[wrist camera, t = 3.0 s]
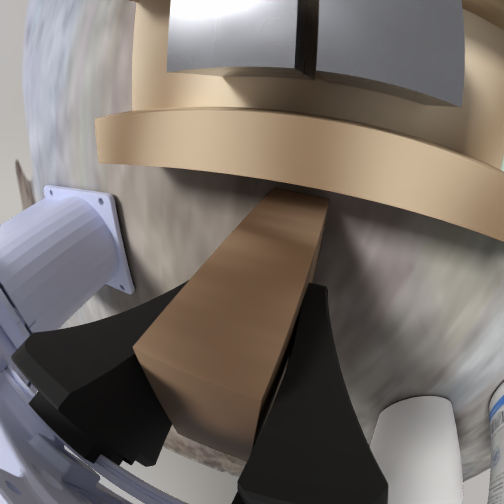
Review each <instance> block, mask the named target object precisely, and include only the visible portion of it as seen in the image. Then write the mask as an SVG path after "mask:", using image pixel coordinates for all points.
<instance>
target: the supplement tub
mask: <svg viewBox="0 0 504 504" xmlns="http://www.w3.org/2000/svg"><path fill="white" fill-rule="evenodd" d="M489 416H490V433H491V471H490V472H491V474H490V486H489V496H488V504H504V382H503V383H502V384H501V385H500V386H499V388H498V389H497V390H496V392H495V393H494V395H493V397H492V399H491V401H490V405H489Z"/></svg>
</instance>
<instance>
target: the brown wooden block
mask: <svg viewBox="0 0 504 504" xmlns="http://www.w3.org/2000/svg"><path fill="white" fill-rule="evenodd" d="M329 200H330V199H325V198H320V197H316V196H311V195H306V194H300V193H295V192H290V191H284V190H279V189H273V188H272V189H271V191H270V192H269V193H268V194H267V195H266V196H265V197H264V198H263V199H262V200H261V201H260V202H259V203H258V205H257V206H256V207H255V208H254V209H253V210H252V211H251V212H250V213H249V214H248V215H247V216H246V218H245V219H244V220H243V221H242V222H241V223H240V224H239V225H238V226H237V227H236V229H235V230H234V231H233V232H232V233H231V234H230V235H229V236H228V237H227V238H226V240H225V241H224V242H223V243H222V244H221V245H220V246H219V247H218V249H217V250H216V251H215V252H214V253H213V254H212V255H211V256H210V257H209V259H208V260H207V261H206V262H205V263H204V264H203V265H202V267H201V268H200V269H199V270H198V271H197V272H196V273H195V274H194V276H193V277H192V278H191V279H190V280H189V281H188V282H187V284H186V285H185V286H184V287H183V288H182V289H181V291H180V292H179V293H178V294H177V295H176V296H175V297H174V299H173V300H172V301H171V302H170V303H169V304H168V306H167V307H166V308H165V309H164V310H163V312H162V313H161V314H160V315H159V316H158V317H157V319H156V320H155V321H154V322H153V323H152V324H151V326H150V327H149V328H148V329H147V330H146V332H145V333H144V334H143V335H142V336H141V338H140V339H139V340H138V341H137V342H136V344H135V345H134V346H133V349H134V352H135V354H136V356H137V358H138V360H139V363H140V365H141V367H142V369H143V371H144V373H145V375H146V377H147V379H148V381H149V383H150V385H151V387H152V389H153V391H154V393H155V395H156V396H157V398H158V400H159V402H160V404H161V406H162V407H163V409H164V411H165V413H166V414H167V416H168V418H169V419H170V421H171V423H172V424H173V426H174V428H175V429H176V431H177V433H178V434H180V435H183V436H185V437H187V438H189V439H191V440H194V441H196V442H198V443H200V444H203V445H205V446H208V447H210V448H213V449H215V450H218V451H220V452H223V453H226V454H228V455H231V456H234V457H237V458H240V459H243V460H246V461H248V459H249V457H250V455H251V453H252V451H253V449H254V446H255V444H256V442H257V440H258V438H259V436H260V433H261V431H262V429H263V426H264V424H265V422H266V419H267V417H268V415H269V412H270V410H271V407H272V405H273V402H274V400H275V397H276V395H277V392H278V390H279V387H280V384H281V382H282V379H283V376H284V373H285V370H286V367H287V363H288V359H289V355H290V351H291V347H292V343H293V339H294V335H295V331H296V327H297V322H298V318H299V314H300V310H301V305H302V301H303V298H304V295H305V292H306V289H307V287H308V284H309V283H313V280H314V275H315V271H316V266H317V262H318V257H319V252H320V247H321V242H322V237H323V232H324V227H325V222H326V217H327V211H328V205H329Z"/></svg>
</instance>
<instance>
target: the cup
mask: <svg viewBox="0 0 504 504" xmlns="http://www.w3.org/2000/svg"><path fill="white" fill-rule="evenodd" d="M370 449H371V451H372V453H373V455H374V457H375V459H376V461H377V463H378V465H379V467H380V469H381V471H382V473H383V475H384V476H385V478H386V480H387V482H388V486H389V489H388V504H463V477H462V465H461V456H460V448H459V441H458V435H457V429H456V423H455V418H454V413H453V409H452V404H451V402H450V401H449V400H447V399H445V398H442V397H438V396H420V397H413V398H409V399H405V400H402V401H399V402H397V403H395V404H392V405H391V406H389V407H387V408H386V409H384V410H383V411H382V412H381V413H380V415H379V417H378V421H377V424H376V428H375V431H374V435H373V438H372V441H371V444H370Z"/></svg>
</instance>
